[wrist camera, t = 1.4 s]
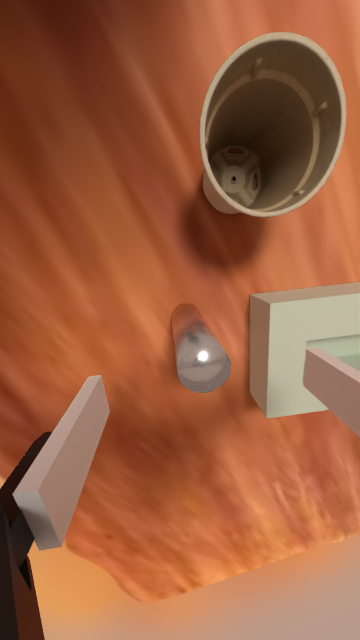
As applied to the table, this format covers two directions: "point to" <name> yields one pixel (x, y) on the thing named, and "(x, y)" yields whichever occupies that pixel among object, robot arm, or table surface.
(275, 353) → the slot block
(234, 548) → the table surface
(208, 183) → the flower pot
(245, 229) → the table surface
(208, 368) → the pin
